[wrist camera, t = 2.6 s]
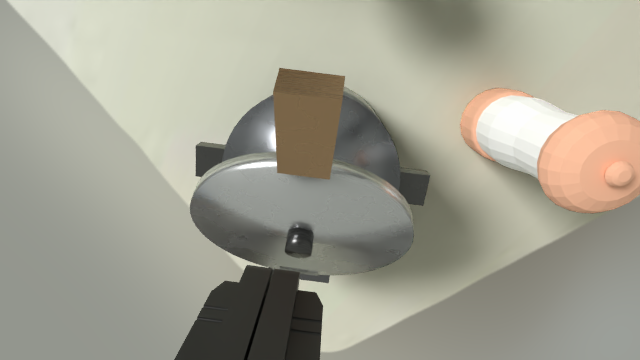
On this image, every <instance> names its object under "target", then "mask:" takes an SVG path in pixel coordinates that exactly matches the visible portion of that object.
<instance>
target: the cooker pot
mask: <svg viewBox="0 0 640 360" xmlns="http://www.w3.org/2000/svg"><path fill="white" fill-rule="evenodd" d="M264 152H276V138H275V117H274V97H273V95H272V96H270V97H268V98H267V99H265V100H263V101H261V102H260V103H259V104H257V105H256V106H254V107H253V108H252V109H250V110H249V111H248V112H247V113H246V114H245V115H244V116H243V117H242V118H241V120H240V121H239V122H238V123H237V125H236V126H235V128H234V129H233V131H232V133H231V135H230V136H229V139H228V141H227V144H226V145H221V144H214V143H206V142H201V143H199V144H197V145H196V176H198V177H202V176H203V175H204V174H205V173H206V172H207V171H208V170H210V169H211V168H213V167H214V166H216V165H218V164H220V163H222V162H224V161H226V160H229V159H232V158H235V157H239V156H243V155H248V154H254V153H264ZM333 159H337V160H341V161H344V162H347V163H350V164H353V165H355V166H358V167H361V168H363V169H365V170H367V171H369V172H371V173H374V174H375V175H377V176H379V177H380V178H382V179H384V180H385V181H387V182H388V183H389V184H391V185H392V186H393V187H394V188H396V189H397V190H398V191H399V192H400V193H401V194H402V196H403V197H404V198H405V199H406V201H407V202H408V204H414V205H422V206H423V204H424V200H425V196H426V191H427V187H428V183H429V178H430V175H429V173H428V172H427V171H423V170H415V169H407V168H400V164H399V158H398V155H397V151H396V148H395V145H394V143H393V141H392V139H391V136H390V135H389V133H388V132H387V130H386V128H385V127H384V125H383V124H382V122H381V121H380V119H379V118H378V116H377V115H376V113H375V112H374V110H373V109H372V108H371V107H370V105H369V104H368V103H367V102H366V101H365V100H364V99H363V98H362V97H360V96H359V95H358V94H356V93H355V92H353V91H352V90H350V89H348V88H346V87H344V90H343V99H342V106H341V112H340V118H339V125H338V131H337V137H336V144H335V150H334V156H333ZM269 268H270V267H269ZM273 272H274V269H273ZM329 276H330V275H320V276H313V275H306V274H300V278H299V279H301V280H309V281H317V282H324V283H329Z"/></svg>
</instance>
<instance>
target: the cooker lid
mask: <svg viewBox="0 0 640 360" xmlns="http://www.w3.org/2000/svg"><path fill="white" fill-rule="evenodd" d="M344 81H345V76H338V75H330V74H322V73H315V72H307V71H299V70H291V69H283V68H280V69H279V72H278V76H277V80H276V83H275V87H274V91H273V97H274V117H275V138H276V152H264V153H254V154H248V155H243V156H239V157H235V158H232V159H229V160H226V161H224V162H222V163H220V164H218V165H216V166H214V167H213V168H211V169H210V170H208V171H207V172H206V173H205V174H204V175H203V176H202V177H201V179H200V180H199V182H198V184H197V186H196V189H195V191H194V194H193V197H192V199H191V204H190V214H191V217H192V219H193V222H194V223H195V225H196V227H197V228H198V229H199V230H200V232H201V233H202V234H203V235H205V237H207V238H208V239H209V240H210V241H212V242H213V243H214V244H216V245H217V246H219V247H220V248H222V249H224V250H225V251H227V252H229V253H231V254H233V255H235V256H238V257H240V258H242V259H245V260H247V261H250V262H253V263H256V264H259V265H262V266H266V267H270V268H273V269H281V270H289V271H297V272H300V274H306V275H313V276H320V275H346V274H356V273H362V272H367V271H371V270H375V269H378V268H381V267H384V266H386V265H389V264H391V263H393V262H394V261H396V260H398V259H399V258H401V257H402V256H403V255H404V254H405V253H406V252H407V251H408V250H409V248H410V246H411V244H412V242H413V237H414V230H413V215H412V211H411V208H410V206H409V204H408V202H407V201H406V199H405V198H404V197H403V196H402V194H401V193H400V192H399V191H398V190H397V189H396V188H394V187H393V186H392V185H391V184H389V183H388V182H387V181H385V180H384V179H382V178H380V177H379V176H377V175H375V174H374V173H371V172H369V171H367V170H365V169H363V168H361V167H358V166H355V165H353V164H350V163H347V162H344V161H341V160H337V159H333V156H334V150H335V144H336V137H337V131H338V125H339V118H340V112H341V106H342V99H343V90H344Z"/></svg>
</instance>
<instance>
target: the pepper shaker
mask: <svg viewBox="0 0 640 360" xmlns="http://www.w3.org/2000/svg"><path fill="white" fill-rule="evenodd" d="M460 125H461V133H462V136H463V138H464V140H465V142H466V143H467V144H468V145H469V146H470V147H471V148H472V149H473V150H474V151H476V152H477V153H479V154H480V155H482V156H483V157H485V158H487V159H490V160H492V161H497V162H498V163H500V164H501V165H503V166H506V167H508V168H510V169H514V170H517V171H521V172H524V173H528V174H530V175H532V176H533V177H535V178H537V179H538V180H539V182H540V184H541V186H542V188H543V190H544V193H545V195H546V196H547V197H548V198H549V199H551V200H552V201H553V202H554V203H555V204H556V205H558V206H561V207H563V208H565V209H568V210H570V211H575V212H581V213H598V212H603V211H609V210H613V209H616V208H618V207H620V206H623V205H625V204H627V203H629V202H631V201H632V200H633V199H634V198H636V197H637V196H638V195H639V194H640V121H638V120H637V119H635V118H633V117H631V116H629V115H626V114H624V113H622V112H619V111H606V110H601V111H596V112H592V113H587V114H583V115H575V114H571V113H567V112H565V111H563V110H562V109H560V108H558V107H556V106H555V105H553V104H551V103H549V102H547V101H544V100H542V99H538V98H534V97H533V96H531V95H529V94H526V93H524V92H521V91H516V90H511V89H502V88H495V89H491V90H486V91H484V92H482V93H481V94H479V95H477V96H476V97H475V98H474V99H473V100H472V101H471V102H470V103H469V104H468V105H467V107H466V109H465V110H464V112H463V114H462V119H461V124H460Z"/></svg>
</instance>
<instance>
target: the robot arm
mask: <svg viewBox="0 0 640 360" xmlns="http://www.w3.org/2000/svg"><path fill="white" fill-rule="evenodd" d="M299 278H300V272H297V271H289V270H281V269H274V272H273V268H265V267H258V266H250V265H247V266H246V268H245V270H244V273H243V275H242V277H241V280H240V282H239V283H237V282H230V281H224V282H223V283H222V284H220V285H219V286H218V287H217V288H215V289H214V290H212V291H211V293H210V295H209V297H208V299H207V300H206V302H205V304H204V307H203V308H202V310H201V311H200V313H199V315H198V317H197V320H196V321H195V322H194V325H193V326H192V328H191V330H190V332H189V334H188V335H187V337H186V339H185V341H184V343H183V345H182V346H181V348H180V350H179V352H178V354H177V356H176V358H175V359H174V360H320V345H321V329H322V312H323V305H322V303H321V301H320V299H319V297H318V295H317V293H315V292H308V291H300V290H298V287H299Z"/></svg>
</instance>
